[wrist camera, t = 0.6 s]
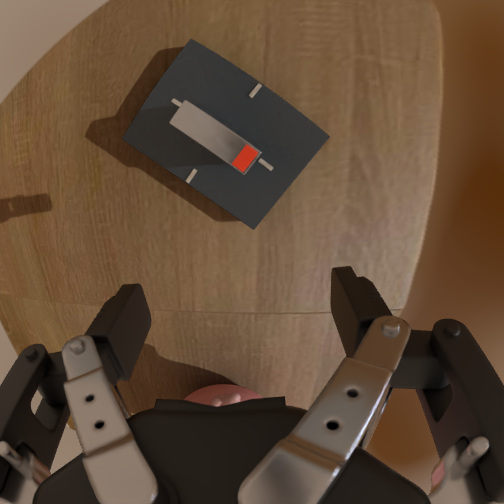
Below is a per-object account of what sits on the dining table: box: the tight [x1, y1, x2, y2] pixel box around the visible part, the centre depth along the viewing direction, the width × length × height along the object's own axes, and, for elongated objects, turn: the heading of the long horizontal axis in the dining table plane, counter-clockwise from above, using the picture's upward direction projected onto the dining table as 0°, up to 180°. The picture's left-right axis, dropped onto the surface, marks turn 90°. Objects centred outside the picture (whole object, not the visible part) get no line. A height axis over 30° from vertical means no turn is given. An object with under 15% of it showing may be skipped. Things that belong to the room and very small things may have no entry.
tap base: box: [122, 39, 330, 230], centre depth 26 cm, size 15×11×3 cm
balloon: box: [183, 384, 263, 407], centre depth 34 cm, size 15×20×15 cm
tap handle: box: [169, 100, 262, 175], centre depth 22 cm, size 6×2×6 cm, turn 53°
